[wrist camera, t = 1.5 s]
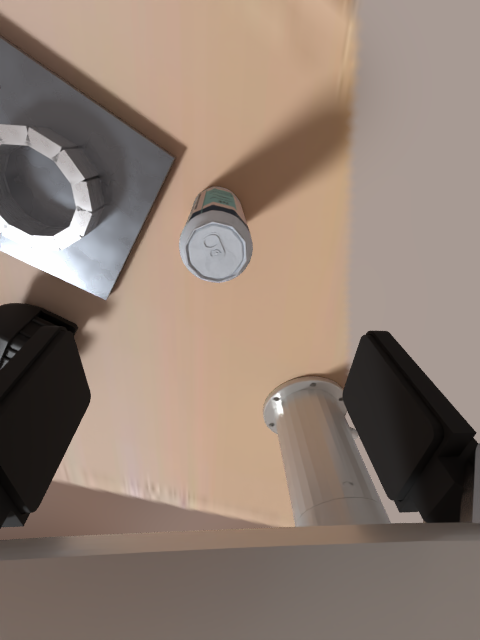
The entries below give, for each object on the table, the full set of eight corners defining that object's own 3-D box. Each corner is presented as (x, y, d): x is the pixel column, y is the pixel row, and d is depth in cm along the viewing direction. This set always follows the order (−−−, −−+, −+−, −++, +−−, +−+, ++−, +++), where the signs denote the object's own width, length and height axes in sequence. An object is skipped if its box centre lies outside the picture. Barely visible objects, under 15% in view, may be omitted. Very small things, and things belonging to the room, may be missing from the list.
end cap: (16, 290, 32) (-29, 324, 26) (81, 322, 34) (53, 359, 28) (-9, 351, 36) (-53, 392, 30) (51, 375, 38) (21, 417, 32)
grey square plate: (176, 157, 26) (169, 160, 22) (109, 295, 32) (95, 314, 29) (-31, 13, 20) (-84, -13, 17) (-60, 213, 27) (-103, 225, 24)
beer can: (205, 244, 30) (198, 298, 20) (183, 198, 28) (163, 233, 17) (248, 226, 29) (264, 272, 19) (230, 177, 27) (237, 200, 17)
